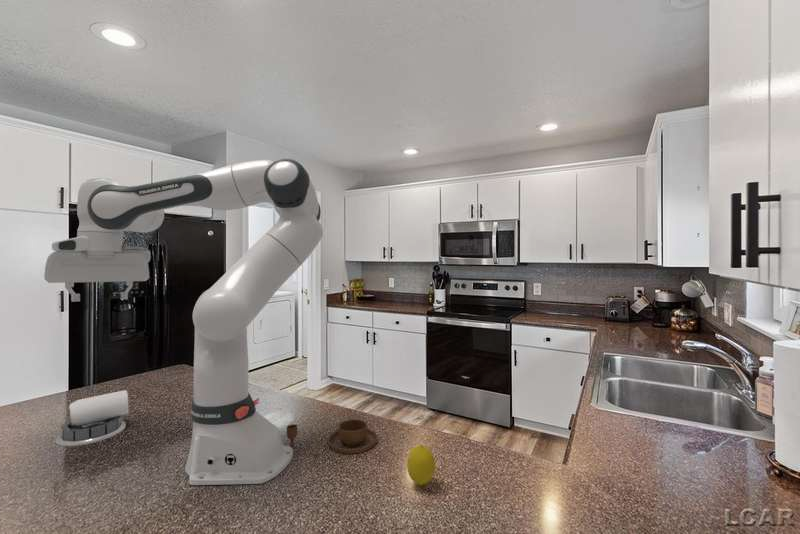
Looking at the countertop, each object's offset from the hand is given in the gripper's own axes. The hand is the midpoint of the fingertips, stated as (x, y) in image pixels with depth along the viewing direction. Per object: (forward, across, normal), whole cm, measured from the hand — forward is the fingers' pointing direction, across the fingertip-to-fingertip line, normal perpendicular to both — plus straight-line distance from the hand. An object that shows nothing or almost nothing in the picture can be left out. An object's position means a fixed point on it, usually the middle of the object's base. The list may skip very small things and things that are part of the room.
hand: (100, 300), depth 93 cm
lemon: (+35, -53, +62) cm, 89 cm away
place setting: (+36, -48, +35) cm, 69 cm away
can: (+29, -6, -8) cm, 30 cm away
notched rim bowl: (+35, +2, -6) cm, 36 cm away
